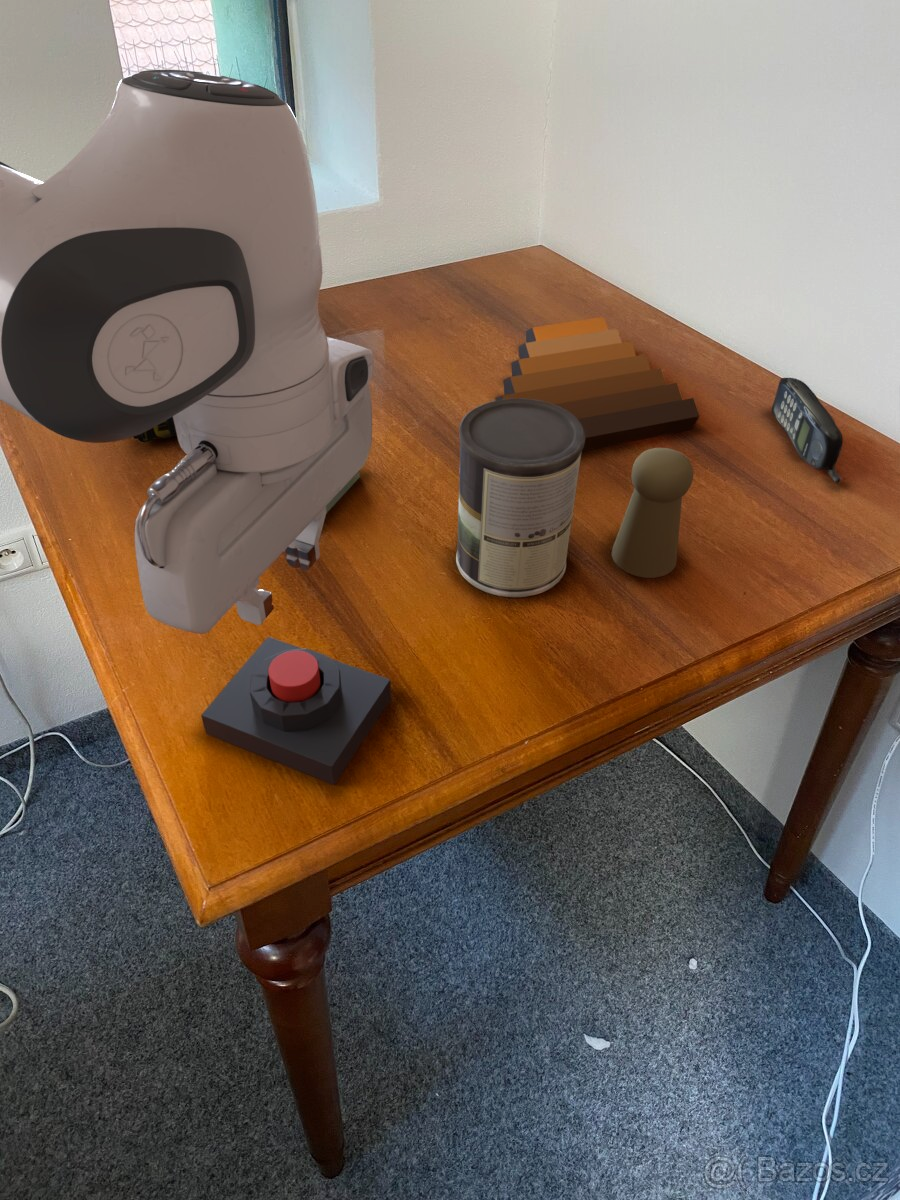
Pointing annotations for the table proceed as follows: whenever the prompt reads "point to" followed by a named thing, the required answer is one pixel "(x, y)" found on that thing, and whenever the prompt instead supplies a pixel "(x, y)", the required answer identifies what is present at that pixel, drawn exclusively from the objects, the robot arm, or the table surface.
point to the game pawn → (653, 514)
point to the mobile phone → (808, 425)
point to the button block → (299, 713)
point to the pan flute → (598, 383)
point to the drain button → (294, 676)
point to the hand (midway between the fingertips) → (281, 588)
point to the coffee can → (516, 495)
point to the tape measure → (158, 431)
